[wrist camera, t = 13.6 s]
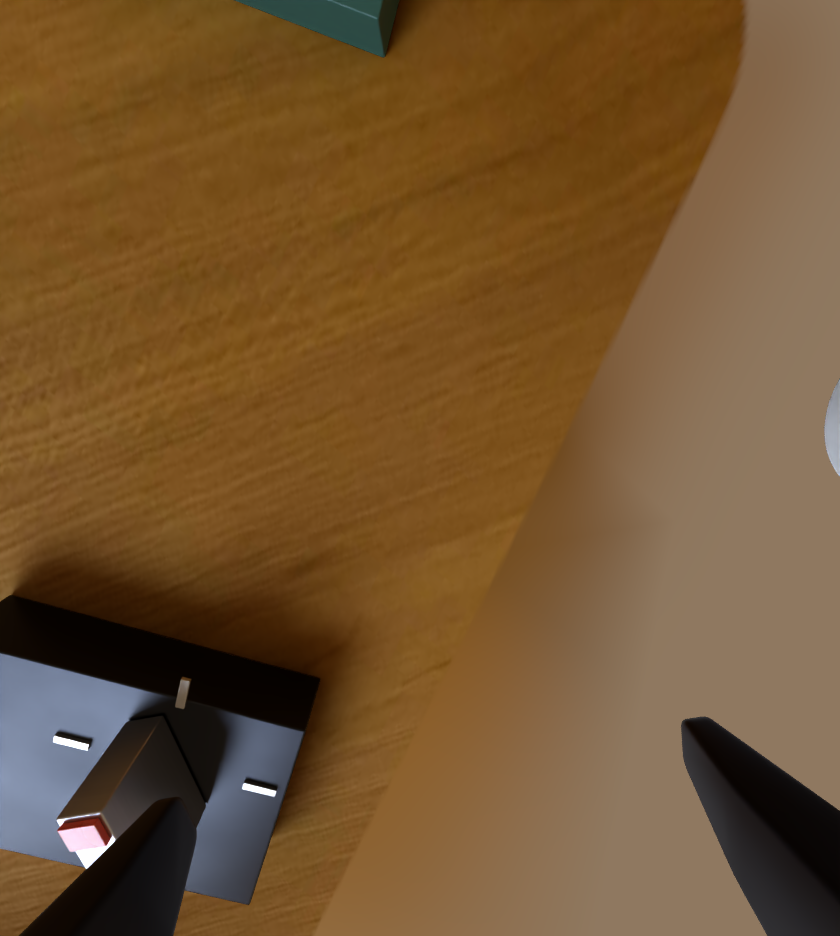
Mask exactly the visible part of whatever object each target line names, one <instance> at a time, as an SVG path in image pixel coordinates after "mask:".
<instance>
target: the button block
mask: <svg viewBox="0 0 840 936" xmlns="http://www.w3.org/2000/svg"><path fill="white" fill-rule="evenodd" d="M235 1H238V2H240V3H243V4H246V5H248V6H251V7H253V8H256V9H259V10H261V11H264V12H266V13H269V14H272V15H274V16H277V17H279V18H282V19H285V20H287V21H290V22H292V23H295V24H298V25H300V26H303V27H305V28H308V29H311V30H313V31H316V32H318V33H321V34H324V35H326V36H329V37H331V38H334V39H337V40H339V41H342V42H344V43H347V44H350V45H352V46H355V47H357V48H360V49H363V50H365V51H368V52H370V53H373V54H376V55H378V56H381V57H385V55H386V51H387V47H388V43H389V39H390V35H391V31H392V27H393V23H394V19H395V15H396V11H397V7H398V3H399V0H235Z"/></svg>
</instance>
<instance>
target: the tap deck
mask: <svg viewBox="0 0 840 936" xmlns="http://www.w3.org/2000/svg"><path fill="white" fill-rule="evenodd" d="M319 683H320V679H319V678H315V677H312V676H308V675H304V674H301V673H297V672H293V671H290V670H286V669H282V668H278V667H275V666H271V665H267V664H264V663H260V662H256V661H253V660H249V659H245V658H241V657H238V656H234V655H230V654H227V653H223V652H219V651H216V650H212V649H208V648H204V647H201V646H197V645H193V644H190V643H186V642H182V641H179V640H175V639H171V638H167V637H164V636H160V635H156V634H153V633H149V632H145V631H142V630H138V629H134V628H130V627H127V626H123V625H119V624H116V623H112V622H108V621H105V620H101V619H97V618H93V617H90V616H86V615H82V614H79V613H75V612H71V611H68V610H64V609H60V608H56V607H53V606H49V605H45V604H42V603H38V602H34V601H31V600H27V599H23V598H19V597H16V596H12V595H10V596H8V597H6V598H5V599H4V600H2V601H1V602H0V849H5V850H9V851H14V852H18V853H22V854H27V855H31V856H36V857H40V858H44V859H49V860H53V861H58V862H62V863H66V864H71V865H75V866H80V867H84V868H85V866H84V865H83V863H82V861H81V860H80V858H79V857H78V855H77V853H76V852H75V851H74V852H70V851H69V849H68V848H67V846H66V845H65V843H64V841H63V840H62V838H61V837H60V835H59V833H58V832H57V830H58V829H59V827H60V826H59V824H58V822H57V821H56V819H57V817H58V816H59V814H60V813H61V812H62V810H63V809H64V807H65V806H66V805H67V803H68V802H69V801H70V799H71V798H72V796H73V795H74V794H75V792H76V791H77V789H78V788H79V787H80V785H81V784H82V783H83V781H84V780H85V778H86V777H87V776H88V774H89V773H90V771H91V770H92V769H93V767H94V766H95V765H96V763H97V762H98V760H99V759H100V758H101V756H102V755H103V753H104V752H105V751H106V749H107V748H108V747H109V745H110V744H111V742H112V741H113V740H114V738H115V737H116V735H117V734H118V733H119V731H120V730H121V728H122V727H123V726H124V724H125V723H126V722H128V721H134V720H139V719H145V718H151V717H156V716H164V719H165V721H166V723H167V725H168V727H169V729H170V731H171V733H172V735H173V737H174V739H175V741H176V744H177V746H178V748H179V750H180V752H181V754H182V756H183V758H184V760H185V762H186V764H187V766H188V769H189V771H190V773H191V775H192V777H193V779H194V781H195V783H196V785H197V787H198V789H199V791H200V794H201V796H202V798H203V800H204V802H205V804H206V808H205V810H204V812H203V815H202V817H201V819H200V821H199V824H198V826H197V828H196V830H197V840H196V845H195V849H194V854H193V858H192V862H191V866H190V870H189V874H188V878H187V882H186V886H185V891H190V892H194V893H199V894H203V895H207V896H212V897H216V898H221V899H225V900H229V901H234V902H238V903H243V904H247V905H249V904H250V902H251V899H252V896H253V893H254V890H255V887H256V883H257V880H258V877H259V874H260V871H261V868H262V865H263V862H264V859H265V856H266V853H267V849H268V846H269V843H270V840H271V837H272V834H273V831H274V828H275V825H276V822H277V819H278V815H279V812H280V809H281V806H282V803H283V800H284V797H285V794H286V791H287V788H288V785H289V781H290V778H291V775H292V772H293V769H294V766H295V763H296V760H297V757H298V754H299V751H300V747H301V744H302V741H303V738H304V735H305V732H306V729H307V725H308V721H309V718H310V714H311V711H312V707H313V704H314V700H315V697H316V693H317V690H318V686H319Z"/></svg>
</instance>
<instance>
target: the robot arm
mask: <svg viewBox="0 0 840 936" xmlns="http://www.w3.org/2000/svg"><path fill="white" fill-rule="evenodd" d="M681 730H682V747H683V758H684V762H685V766H686V769H687V771H688V773H689V776H690V778H691V780H692V782H693V785H694V787H695V789H696V791H697V793H698V796H699V798H700V800H701V803H702V805H703V807H704V809H705V812H706V814H707V816H708V818H709V821H710V823H711V825H712V827H713V830H714V832H715V834H716V836H717V838H718V841H719V843H720V845H721V847H722V849H723V852H724V854H725V856H726V858H727V861H728V863H729V865H730V867H731V869H732V871H733V874H734V876H735V877H736V879H737V881H738V883H739V885H740V887H741V889H742V891H743V893H744V895H745V896H746V898H747V900H748V902H749V903H750V905H751V907H752V909H753V910H754V912H755V914H756V916H757V918H758V920H759V921H760V923H761V925H762V927H763V929H764V930H765V932H766V934H767V936H840V811H839V810H838V809H836V808H835V807H834V806H832V805H831V804H829V803H828V802H827V801H825V800H824V799H822V798H821V797H820V796H818V795H817V794H815V793H814V792H813V791H811V790H810V789H808V788H807V787H805V786H804V785H803V784H801V783H800V782H799V781H797V780H796V779H794V778H793V777H791V776H790V775H789V774H787V773H786V772H785V771H783V770H782V769H780V768H779V767H778V766H776V765H774V764H773V763H772V762H770V761H769V760H768V759H766V758H765V757H764V756H762V755H761V754H759V753H758V752H757V751H755V750H754V749H752V748H751V747H750V746H748V745H747V744H745V743H744V742H742V741H741V740H740V739H738V738H737V737H736V736H734V735H733V734H731V733H730V732H729V731H727V730H726V729H724V728H723V727H722V726H720V725H719V724H717V723H716V722H714V721H713V720H712V719H710V718H708V717H697V718H690V719H685V720H683V721H682V725H681ZM196 840H197V830H196V826H195V824H194V821H193V819H192V817H191V815H190V813H189V811H188V809H187V807H186V805H185V803H184V801H183V799H181V798H180V797H170V798H163V799H159V800H157V801H155V802H154V803H153V804H152V805H151V806H150V807H149V808H148V809H147V810H146V811H145V812H144V813H143V814H142V815H141V816H140V817H139V818H138V819H137V820H136V821H135V822H133V823H132V824H131V825H130V826H129V827H128V828H127V829H126V830H125V831H124V832H123V833H122V834H121V835H120V836H119V837H118V838H117V839H116V840H115V841H114V842H113V843H112V844H111V845H110V846H109V847H108V848H107V849H106V850H105V851H104V852H103V853H102V854H101V855H100V856H99V857H98V858H97V859H96V860H95V861H94V862H93V863H92V864H91V865H90V866H89V867H88V868H87V869H86V870H85V871H84V872H83V873H82V874H81V875H80V876H79V877H78V878H77V879H76V880H75V881H74V882H73V883H72V884H71V885H70V886H69V887H68V888H67V889H66V890H65V891H64V892H63V893H62V894H61V895H60V896H59V897H58V898H57V899H56V900H55V901H54V902H53V903H52V904H51V905H50V906H49V907H48V908H47V909H46V910H45V911H44V912H42V913H41V914H40V915H39V916H38V917H37V918H36V919H35V920H34V921H33V922H32V923H31V924H30V925H29V926H28V927H27V928H26V929H25V930H24V931H23V932H22V933H21V934H20V935H19V936H173V934H174V930H175V926H176V922H177V918H178V914H179V910H180V906H181V902H182V898H183V894H184V890H185V886H186V882H187V878H188V874H189V870H190V866H191V862H192V858H193V854H194V849H195V845H196Z"/></svg>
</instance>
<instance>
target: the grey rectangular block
mask: <svg viewBox="0 0 840 936" xmlns="http://www.w3.org/2000/svg"><path fill="white" fill-rule="evenodd" d="M170 797H180V798H181V799H183V801H184V803H185V805H186V807H187V809H188V811H189V813H190V815H191V817H192V819H193V821H194V824H195V826H196V828H197V826H198V824H199V821H200V819H201V817H202V815H203V812H204V810H205V808H206V804H205V802H204V800H203V798H202V796H201V794H200V791H199V789H198V787H197V785H196V783H195V781H194V779H193V777H192V775H191V773H190V771H189V769H188V766H187V764H186V762H185V760H184V758H183V756H182V754H181V752H180V750H179V748H178V746H177V744H176V741H175V739H174V737H173V735H172V733H171V731H170V729H169V727H168V725H167V723H166V721H165V719H164V716H156V717H151V718H145V719H139V720H134V721H128V722H126V723H125V724H124V726H123V727H122V728H121V730H120V731H119V733H118V734H117V735H116V737H115V738H114V740H113V741H112V742H111V744H110V745H109V747H108V748H107V749H106V751H105V752H104V753H103V755H102V756H101V758H100V759H99V760H98V762H97V763H96V765H95V766H94V767H93V769H92V770H91V771H90V773H89V774H88V776H87V777H86V778H85V780H84V781H83V783H82V784H81V785H80V787H79V788H78V789H77V791H76V792H75V794H74V795H73V796H72V798H71V799H70V801H69V802H68V803H67V805H66V806H65V807H64V809H63V810H62V812H61V813H60V814H59V816H58V817H57V819H56V821H57V822H58V824H59V826H60V827H59V829H58V830H57V832H58V833H59V835H60V837H61V838H62V840H63V841H64V843H65V845H66V846H67V848H68V849H69V851H70V852H74V851H75V852H76V853H77V855H78V857H79V858H80V860H81V861H82V863H83V865H84V866H85V868H86V869H87V868H88V867H89V866H90V865H91V864H92V863H93V862H94V861H95V860H96V859H97V858H98V857H99V856H100V855H101V854H102V853H103V852H104V851H105V850H106V849H107V848H108V847H109V846H110V845H111V844H112V843H113V842H114V841H115V840H116V839H117V838H118V837H119V836H120V835H121V834H122V833H123V832H124V831H125V830H126V829H127V828H128V827H129V826H130V825H131V824H132V823H133V822H135V821H136V820H137V819H138V818H139V817H140V816H141V815H142V814H143V813H144V812H145V811H146V810H147V809H148V808H149V807H150V806H151V805H152V804H153V803H154V802H155V801H157V800H159V799H163V798H170Z"/></svg>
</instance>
